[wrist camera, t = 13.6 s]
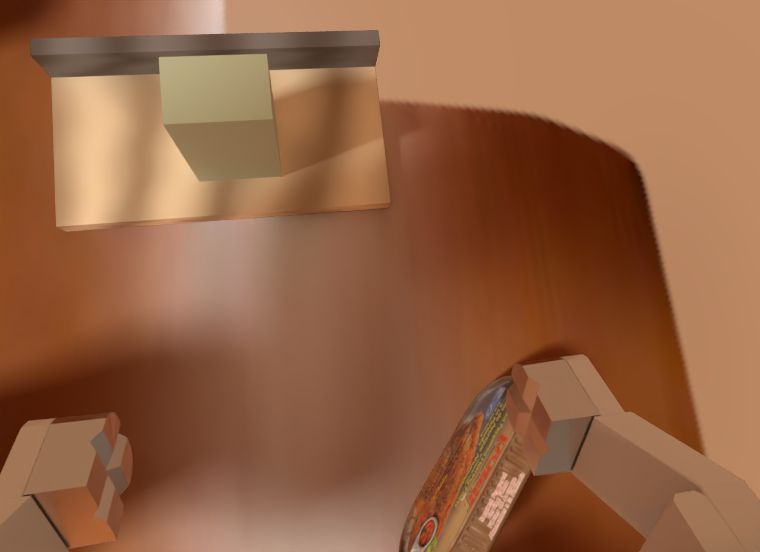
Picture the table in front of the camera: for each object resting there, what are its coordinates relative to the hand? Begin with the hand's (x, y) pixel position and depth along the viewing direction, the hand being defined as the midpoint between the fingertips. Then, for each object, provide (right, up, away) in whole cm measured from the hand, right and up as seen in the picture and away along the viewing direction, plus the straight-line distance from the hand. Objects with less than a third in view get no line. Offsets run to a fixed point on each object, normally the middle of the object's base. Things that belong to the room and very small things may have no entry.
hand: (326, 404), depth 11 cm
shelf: (-11, +13, +30) cm, 35 cm away
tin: (+7, -12, +29) cm, 32 cm away
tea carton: (-10, +12, +29) cm, 33 cm away
